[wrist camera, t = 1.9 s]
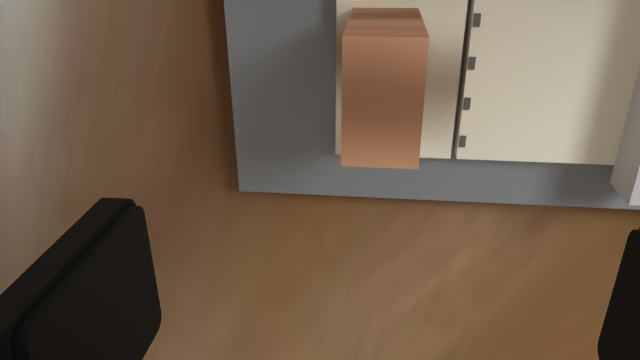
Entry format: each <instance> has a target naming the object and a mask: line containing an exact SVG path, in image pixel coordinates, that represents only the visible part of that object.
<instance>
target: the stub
mask: <svg viewBox="0 0 640 360" xmlns="http://www.w3.org/2000/svg"><path fill="white" fill-rule="evenodd" d="M467 4H468V0H336V140H335V154H340V155H341V166H348V167H373V168H398V169H419V158H444V159H450V158H451V149H452V140H453V131H454V122H455V113H456V104H457V95H458V86H459V77H460V68H461V59H462V50H463V41H464V32H465V22H466V13H467Z"/></svg>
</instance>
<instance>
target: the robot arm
mask: <svg viewBox="0 0 640 360" xmlns="http://www.w3.org/2000/svg"><path fill="white" fill-rule="evenodd" d="M160 323H161V308H160V302H159V296H158V290H157V284H156V278H155V272H154V267H153V261H152V255H151V249H150V243H149V237H148V231H147V225H146V219H145V214H144V210H143V208H142V207H140V206H136V204H135V202H134V201H133V200H132V199H124V198H101V199H100V200H99V201H98V202H96V203H95V204H94V205H93V206H92V207H91V208H90V209H89V210H88V211H87V212H86V213H85V214H84V215H83V216H82V217H81V218H80V219H79V220H78V221H77V222H76V223H75V224H74V225H73V226H72V227H71V228H70V229H68V230H67V231H66V232H65V233H64V234H63V235H62V236H61V237H60V238H59V239H58V240H57V241H56V242H55V243H54V244H53V245H52V246H51V247H50V248H49V249H48V250H47V251H46V252H45V253H44V254H43V255H41V256H40V257H39V258H38V259H37V260H36V261H35V262H34V263H33V264H32V265H31V266H30V267H29V268H28V269H27V270H26V271H25V272H24V273H23V274H22V275H21V276H20V277H19V278H18V279H17V280H16V281H14V282H13V283H12V284H11V285H10V286H9V287H8V288H7V289H6V290H5V291H4V292H3V293H2V294H1V295H0V360H142V359H143V357H144V355H145V353H146V352H147V350H148V348H149V346H150V344H151V343H152V341H153V339H154V337H155V335H156V334H157V332H158V330H159V327H160ZM598 356H599V360H640V228H639V230H632V231H631V232H630V234H629V236H628V239H627V243H626V246H625V250H624V253H623V257H622V260H621V264H620V267H619V271H618V274H617V278H616V281H615V285H614V288H613V292H612V295H611V299H610V302H609V306H608V309H607V313H606V316H605V320H604V323H603V327H602V330H601V334H600V337H599V341H598Z"/></svg>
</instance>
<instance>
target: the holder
mask: <svg viewBox="0 0 640 360" xmlns="http://www.w3.org/2000/svg"><path fill="white" fill-rule="evenodd" d="M224 10H225V23H226V35H227V47H228V59H229V72H230V84H231V96H232V108H233V121H234V133H235V145H236V158H237V170H238V182H239V191H245V192H267V193H289V194H310V195H332V196H353V197H375V198H396V199H418V200H440V201H461V202H483V203H504V204H526V205H548V206H569V207H591V208H612V209H634V210H640V0H468V4H467V13H466V22H465V32H464V41H463V50H462V59H461V68H460V77H459V86H458V95H457V104H456V113H455V122H454V131H453V140H452V149H451V158H450V159H444V158H419V169H398V168H373V167H348V166H341V155H340V154H335V140H336V0H224Z"/></svg>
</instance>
